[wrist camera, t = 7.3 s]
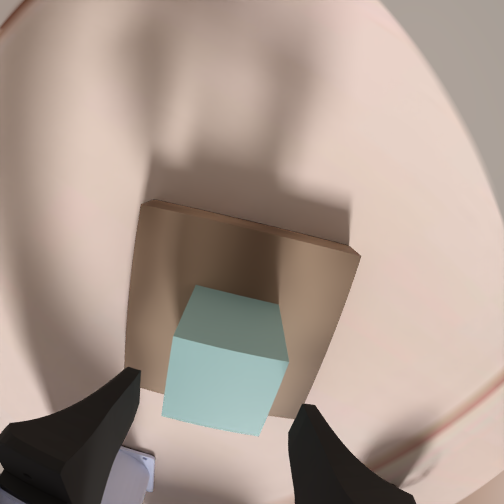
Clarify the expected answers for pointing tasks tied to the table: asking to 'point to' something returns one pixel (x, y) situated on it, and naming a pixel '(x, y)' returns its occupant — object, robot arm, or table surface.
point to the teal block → (225, 362)
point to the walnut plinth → (234, 288)
